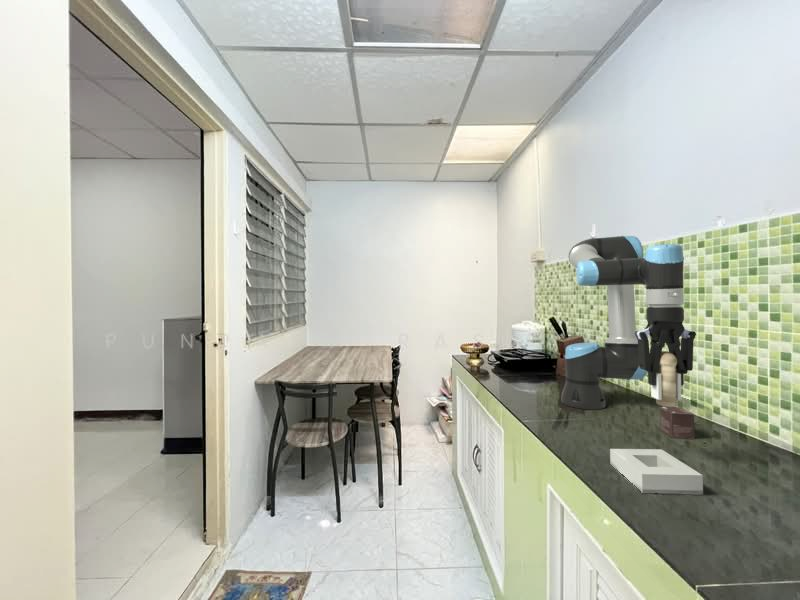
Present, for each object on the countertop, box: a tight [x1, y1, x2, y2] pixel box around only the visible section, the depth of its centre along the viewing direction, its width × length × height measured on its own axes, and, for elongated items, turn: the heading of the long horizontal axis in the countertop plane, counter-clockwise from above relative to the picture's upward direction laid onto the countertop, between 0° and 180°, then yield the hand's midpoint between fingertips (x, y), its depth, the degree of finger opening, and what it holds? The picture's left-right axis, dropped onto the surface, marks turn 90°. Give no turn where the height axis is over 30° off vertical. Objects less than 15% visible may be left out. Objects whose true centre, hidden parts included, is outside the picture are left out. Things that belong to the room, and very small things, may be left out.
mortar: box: [609, 448, 704, 495], centre depth 76 cm, size 12×12×4 cm
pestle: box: [655, 350, 677, 407], centre depth 85 cm, size 5×5×14 cm
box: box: [659, 406, 696, 440], centre depth 100 cm, size 6×6×7 cm
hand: (665, 397), depth 85 cm, fingers closed on pestle, 4 cm apart
